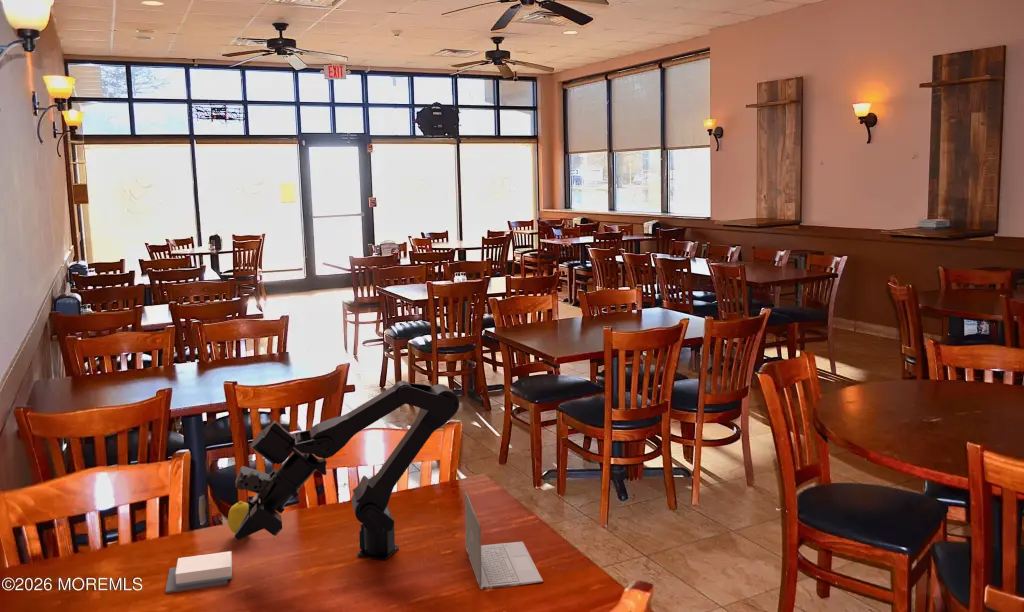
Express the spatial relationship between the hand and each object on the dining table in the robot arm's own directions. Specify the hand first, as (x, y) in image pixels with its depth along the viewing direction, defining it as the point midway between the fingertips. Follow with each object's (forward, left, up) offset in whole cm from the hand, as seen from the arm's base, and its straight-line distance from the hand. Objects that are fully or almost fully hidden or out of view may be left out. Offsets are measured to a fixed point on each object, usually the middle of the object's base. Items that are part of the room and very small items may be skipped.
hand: (236, 538), depth 162 cm
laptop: (-48, -21, -8) cm, 53 cm away
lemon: (+10, -14, -7) cm, 19 cm away
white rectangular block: (+1, +1, -5) cm, 6 cm away
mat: (+6, +5, -7) cm, 10 cm away
